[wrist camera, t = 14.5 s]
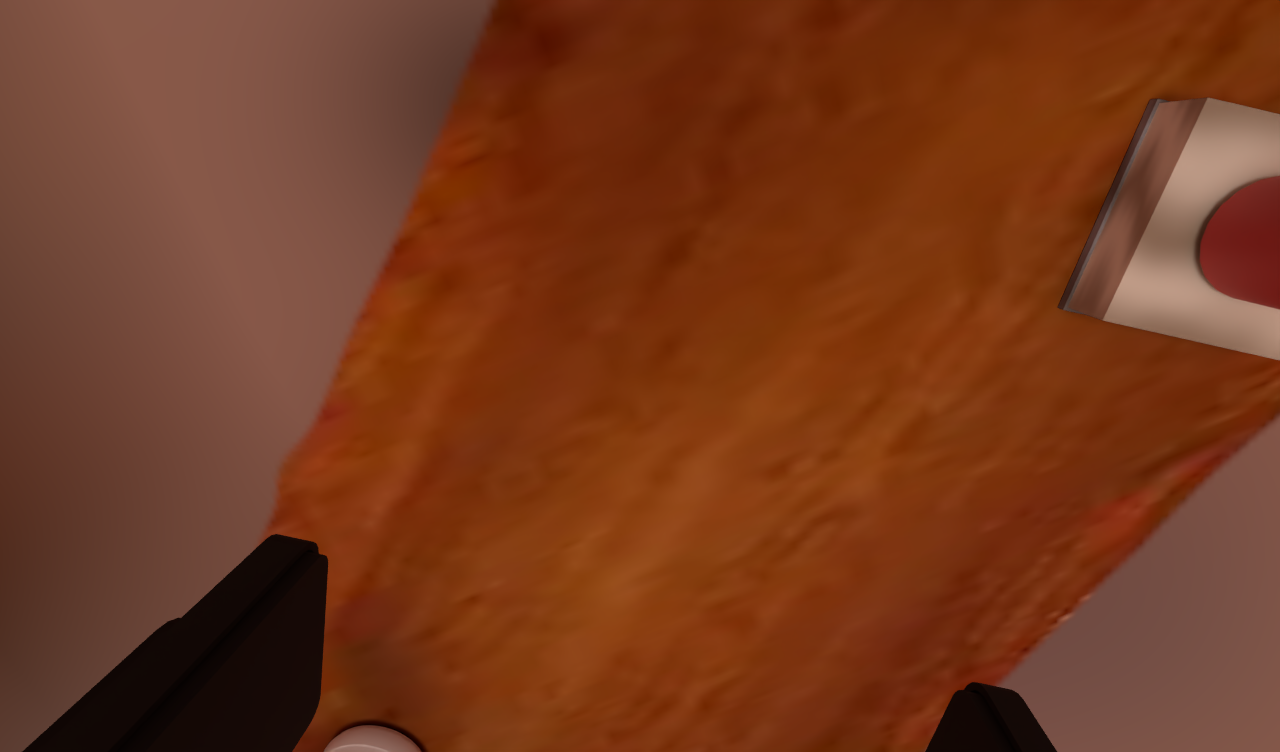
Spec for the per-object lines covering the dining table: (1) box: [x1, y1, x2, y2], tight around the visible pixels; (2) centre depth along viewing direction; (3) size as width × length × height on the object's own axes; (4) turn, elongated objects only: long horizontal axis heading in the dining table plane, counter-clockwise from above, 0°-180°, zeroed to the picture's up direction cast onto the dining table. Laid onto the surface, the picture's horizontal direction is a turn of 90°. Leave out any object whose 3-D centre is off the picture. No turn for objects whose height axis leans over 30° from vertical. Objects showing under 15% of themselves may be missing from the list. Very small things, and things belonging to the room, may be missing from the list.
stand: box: [1058, 98, 1280, 360], centre depth 36 cm, size 12×12×4 cm
